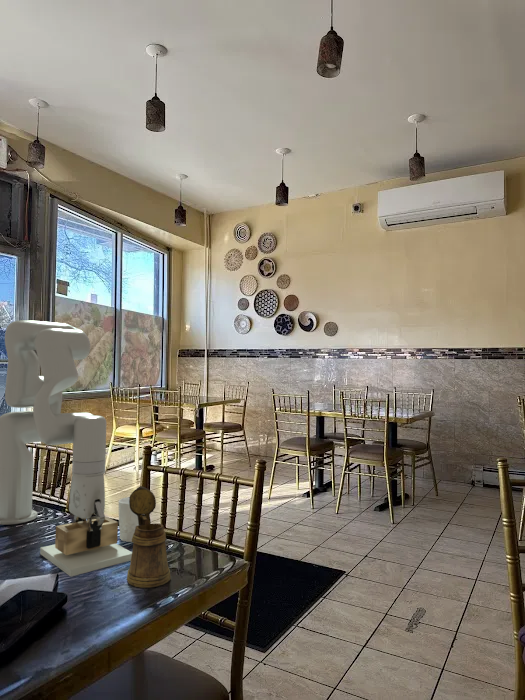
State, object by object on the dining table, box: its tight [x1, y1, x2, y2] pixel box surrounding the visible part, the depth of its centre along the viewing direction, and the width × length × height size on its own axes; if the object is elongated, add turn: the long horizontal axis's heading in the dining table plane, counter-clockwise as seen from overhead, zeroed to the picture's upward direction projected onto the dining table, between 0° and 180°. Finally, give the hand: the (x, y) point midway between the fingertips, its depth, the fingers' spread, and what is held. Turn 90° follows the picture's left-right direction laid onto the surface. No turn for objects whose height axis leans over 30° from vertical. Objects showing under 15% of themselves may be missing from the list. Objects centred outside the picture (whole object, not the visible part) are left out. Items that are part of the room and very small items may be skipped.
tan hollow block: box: [54, 516, 119, 555], centre depth 120 cm, size 12×6×5 cm, turn 133°
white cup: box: [117, 496, 145, 543], centre depth 134 cm, size 8×8×10 cm
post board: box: [39, 543, 132, 578], centre depth 120 cm, size 18×15×6 cm
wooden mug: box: [126, 485, 172, 589], centre depth 110 cm, size 9×14×18 cm, turn 27°
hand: (86, 542), depth 120 cm, fingers closed on tan hollow block, 6 cm apart
